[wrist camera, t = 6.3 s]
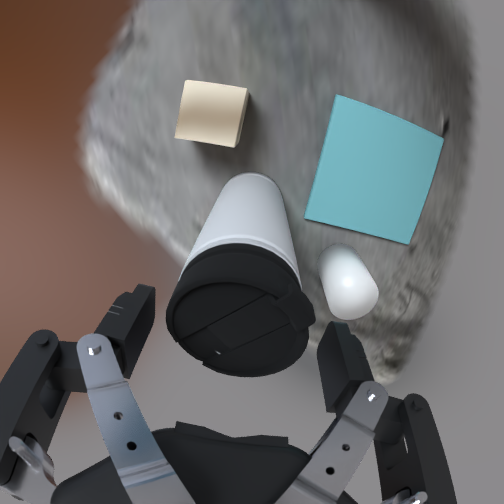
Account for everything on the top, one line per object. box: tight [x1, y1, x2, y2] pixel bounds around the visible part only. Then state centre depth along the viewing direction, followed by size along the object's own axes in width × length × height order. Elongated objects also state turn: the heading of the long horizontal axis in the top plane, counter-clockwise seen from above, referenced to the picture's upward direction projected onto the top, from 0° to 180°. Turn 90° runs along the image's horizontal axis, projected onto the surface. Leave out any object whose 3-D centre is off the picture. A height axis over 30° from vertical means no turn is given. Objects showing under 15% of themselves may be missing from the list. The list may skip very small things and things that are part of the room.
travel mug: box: [166, 172, 316, 377], centre depth 20 cm, size 6×7×20 cm
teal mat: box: [304, 95, 444, 244], centre depth 27 cm, size 13×13×1 cm
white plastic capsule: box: [317, 244, 379, 320], centre depth 29 cm, size 5×5×7 cm
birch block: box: [175, 80, 250, 147], centre depth 23 cm, size 5×5×5 cm
